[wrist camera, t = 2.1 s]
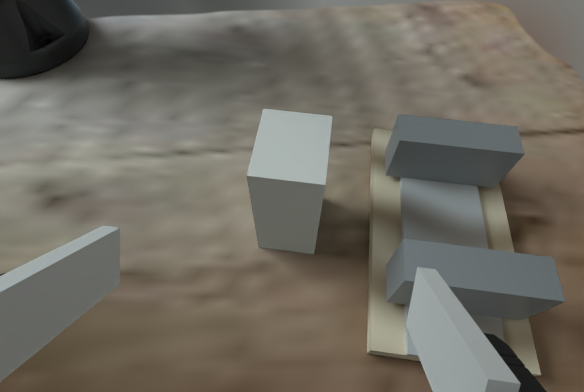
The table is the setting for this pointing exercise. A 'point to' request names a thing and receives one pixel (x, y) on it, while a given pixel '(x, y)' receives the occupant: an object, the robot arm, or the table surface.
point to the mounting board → (433, 228)
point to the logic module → (289, 178)
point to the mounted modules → (461, 259)
